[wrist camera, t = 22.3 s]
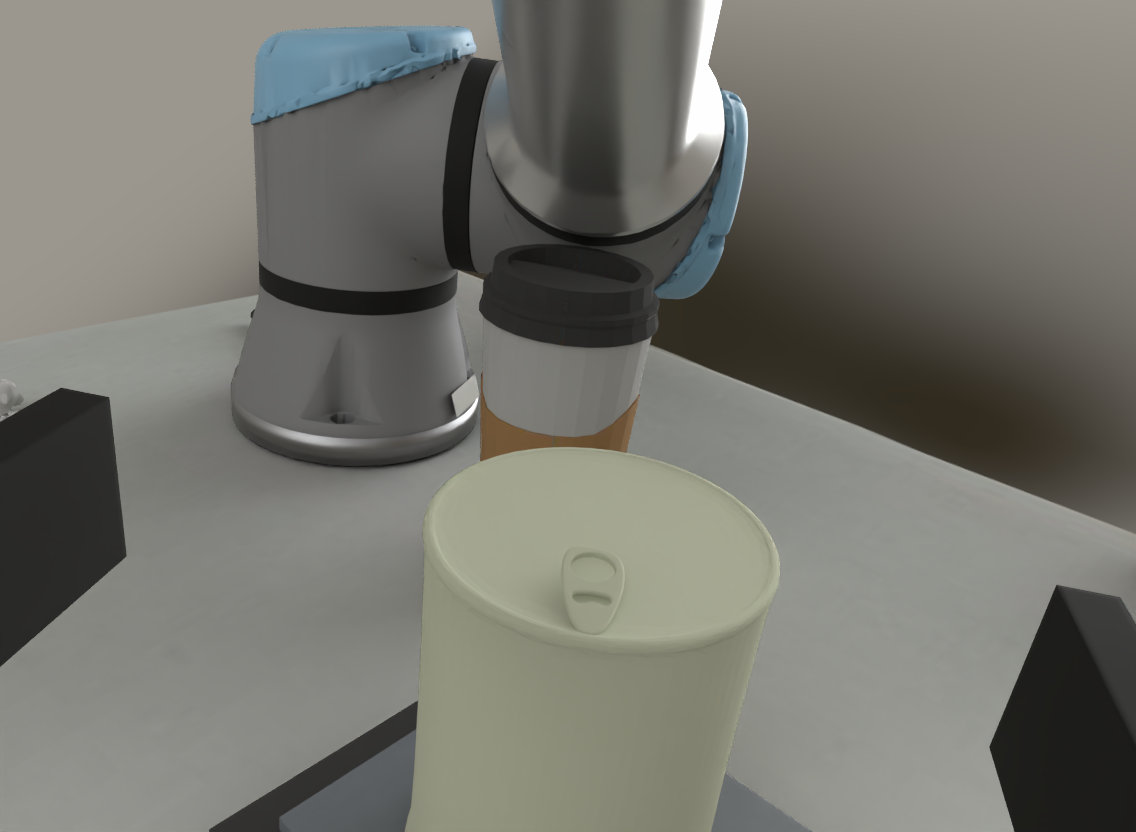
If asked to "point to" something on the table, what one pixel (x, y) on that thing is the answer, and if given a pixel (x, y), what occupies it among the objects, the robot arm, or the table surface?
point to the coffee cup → (563, 348)
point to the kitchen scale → (384, 792)
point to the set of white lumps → (9, 397)
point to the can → (583, 644)
